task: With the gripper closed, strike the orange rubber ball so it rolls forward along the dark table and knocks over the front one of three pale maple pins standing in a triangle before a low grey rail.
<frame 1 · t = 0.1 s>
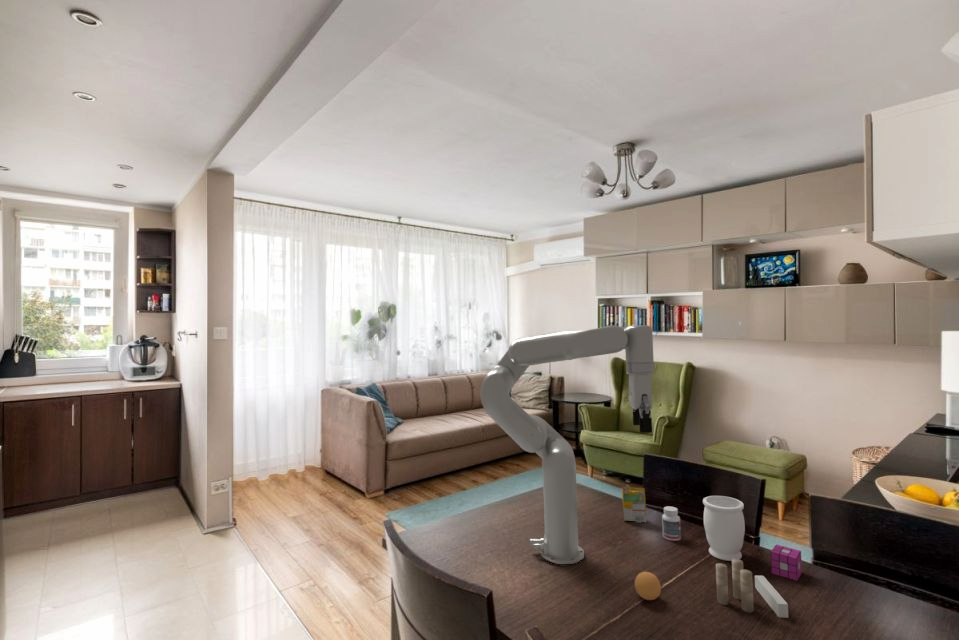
hand: (642, 428, 133), 37 cm above the table, tool pointing down, fingers open, 9 cm apart
pill bottle: (671, 538, 145), on the table
jar: (725, 555, 133), on the table
pin 1: (738, 596, 112), on the table
ball: (647, 585, 113), on the table
puzzle toy: (786, 573, 122), on the table
pin front: (722, 601, 111), on the table
pin 2: (747, 609, 107), on the table
crayon box: (634, 521, 158), on the table
back rail: (770, 601, 110), on the table
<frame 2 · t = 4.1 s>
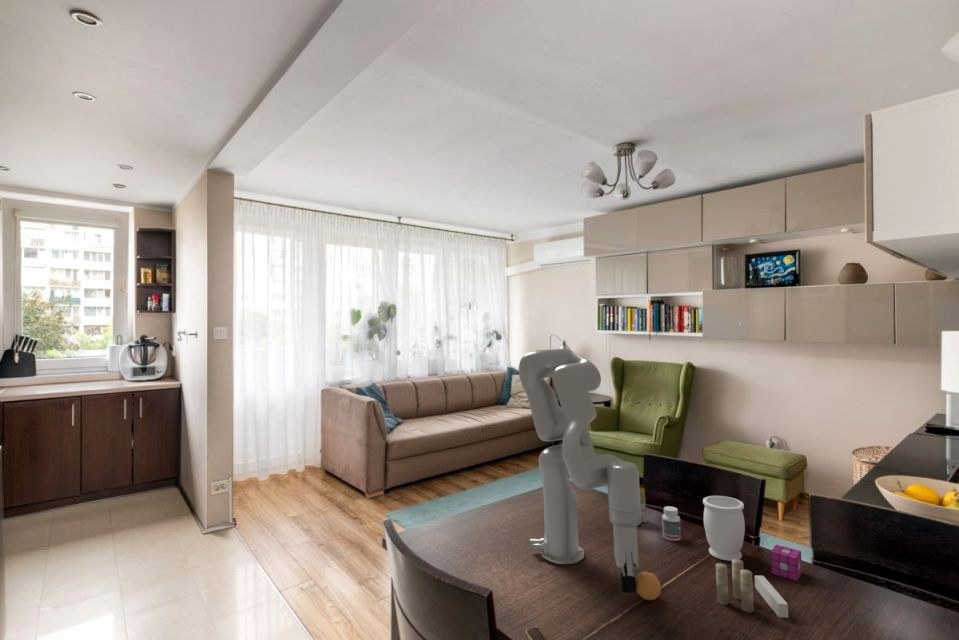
hand: (628, 590, 113), 2 cm above the table, tool pointing down, fingers closed
ball: (647, 585, 113), on the table, touching gripper
everything else where it was.
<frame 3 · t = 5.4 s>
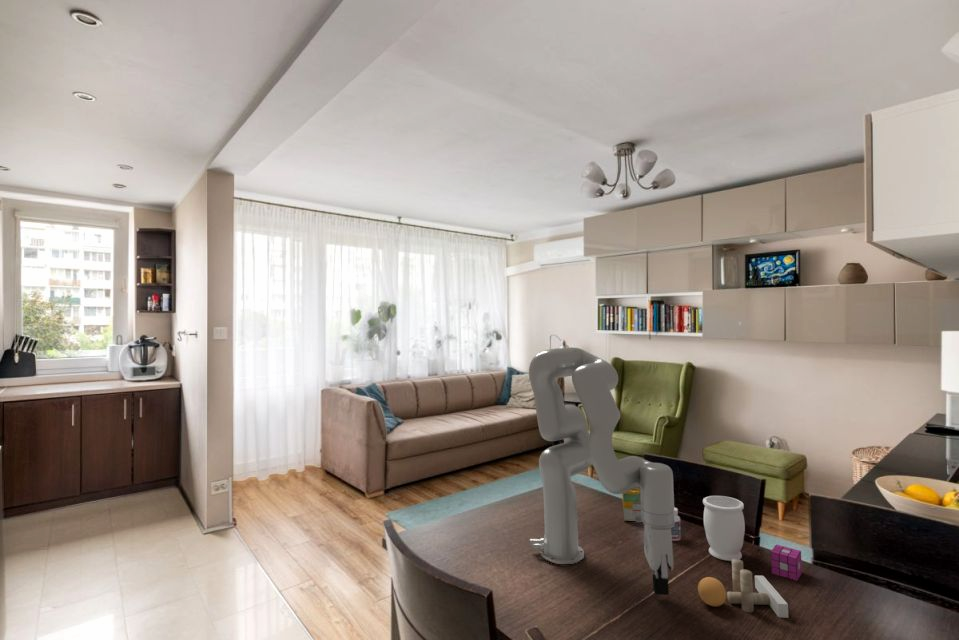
hand: (660, 592, 113), 2 cm above the table, tool pointing down, fingers closed
ball: (711, 591, 110), on the table
pin front: (728, 597, 110), point 1 cm above the table, tilted 90°
everything else where it was.
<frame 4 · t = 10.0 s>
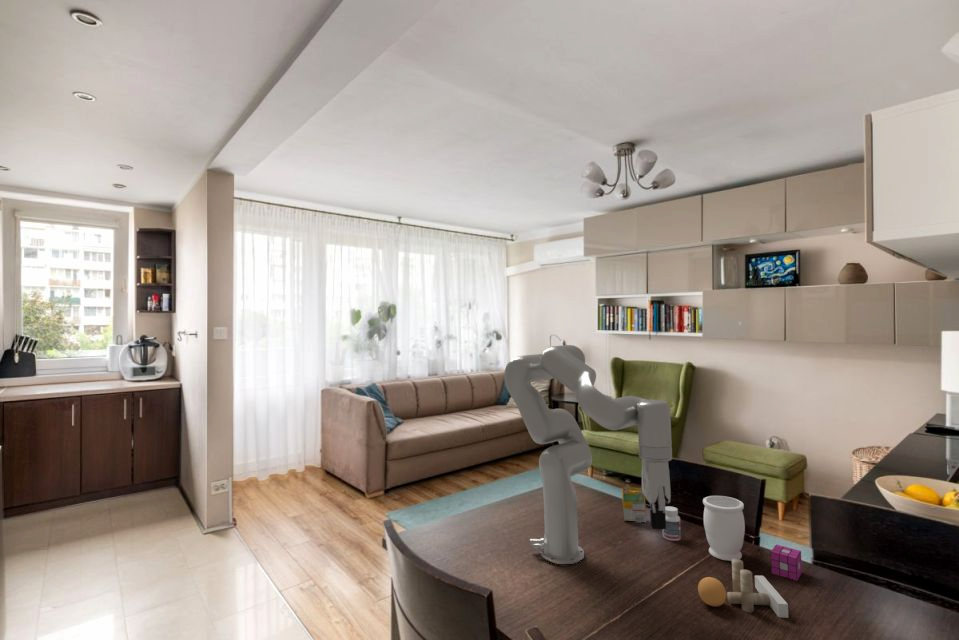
hand: (658, 527, 113), 17 cm above the table, tool pointing down, fingers closed
nothing on the table moved.
at the end: pin front tilted 90°; pin front never touched the robot; ball moved 14.3 cm from its start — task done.
